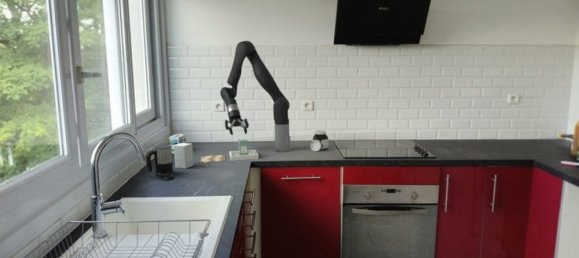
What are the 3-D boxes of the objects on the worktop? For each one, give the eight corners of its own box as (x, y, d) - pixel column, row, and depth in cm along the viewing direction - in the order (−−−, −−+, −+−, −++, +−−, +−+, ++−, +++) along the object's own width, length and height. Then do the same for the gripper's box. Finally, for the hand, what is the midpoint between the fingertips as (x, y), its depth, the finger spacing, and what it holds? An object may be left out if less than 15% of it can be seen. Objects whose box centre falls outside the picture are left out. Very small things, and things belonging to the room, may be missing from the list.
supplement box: (194, 165, 235) (192, 143, 233) (185, 168, 228) (184, 146, 226) (183, 164, 238) (182, 142, 236) (174, 167, 231) (173, 145, 229)
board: (224, 156, 255) (224, 154, 255) (225, 161, 242) (225, 160, 241) (200, 157, 252) (200, 156, 252) (200, 163, 239) (200, 161, 239)
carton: (247, 155, 253) (246, 139, 252) (248, 157, 248) (247, 141, 247) (239, 156, 252) (238, 139, 251) (239, 158, 247) (239, 141, 246)
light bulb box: (179, 154, 264) (178, 137, 262) (169, 153, 265) (168, 136, 263) (187, 150, 274) (186, 134, 272) (177, 150, 276) (176, 133, 274)
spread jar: (327, 147, 274) (327, 130, 272) (329, 151, 263) (329, 133, 261) (309, 148, 274) (309, 130, 272) (310, 152, 262) (310, 133, 260)
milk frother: (165, 170, 226) (163, 143, 223) (186, 174, 218) (185, 146, 215) (143, 177, 214) (141, 148, 211) (166, 181, 206) (163, 151, 203)
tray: (255, 154, 259) (255, 149, 258) (258, 159, 245) (258, 154, 245) (229, 156, 256) (229, 151, 255) (231, 161, 242) (230, 156, 242)
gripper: (223, 109, 259) (228, 131, 251) (245, 108, 264) (251, 129, 256) (221, 117, 265) (226, 138, 256) (243, 115, 270) (249, 136, 261)
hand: (239, 133), depth 256 cm, fingers open, 8 cm apart
